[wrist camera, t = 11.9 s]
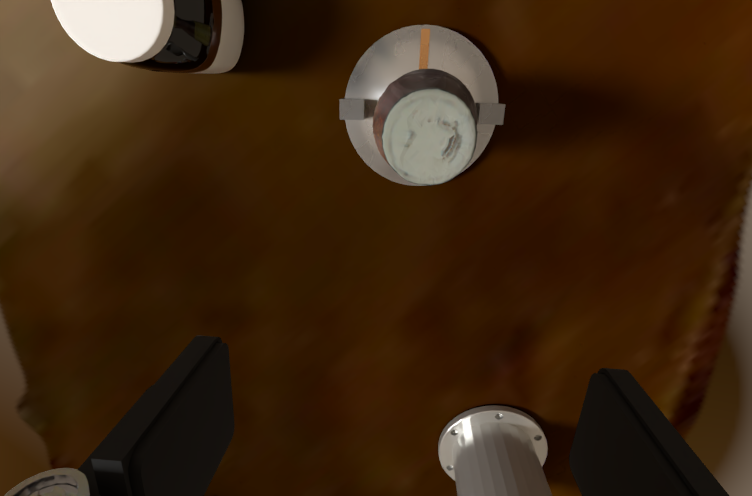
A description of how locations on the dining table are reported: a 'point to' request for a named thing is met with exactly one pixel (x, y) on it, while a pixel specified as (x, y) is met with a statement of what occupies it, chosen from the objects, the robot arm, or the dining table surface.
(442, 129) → the sauce bottle
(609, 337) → the dining table surface
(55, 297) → the dining table surface
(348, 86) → the base
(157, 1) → the spread jar
